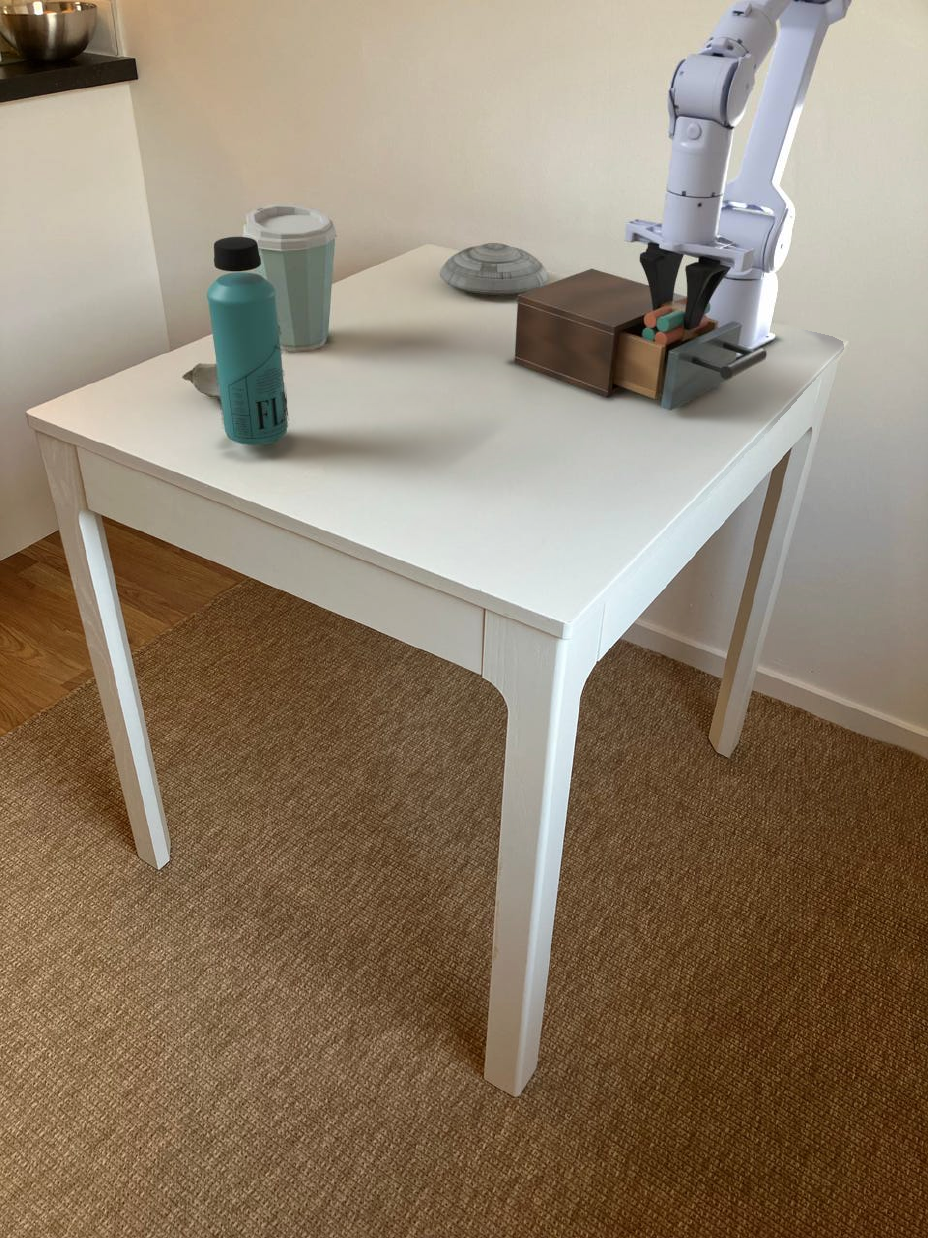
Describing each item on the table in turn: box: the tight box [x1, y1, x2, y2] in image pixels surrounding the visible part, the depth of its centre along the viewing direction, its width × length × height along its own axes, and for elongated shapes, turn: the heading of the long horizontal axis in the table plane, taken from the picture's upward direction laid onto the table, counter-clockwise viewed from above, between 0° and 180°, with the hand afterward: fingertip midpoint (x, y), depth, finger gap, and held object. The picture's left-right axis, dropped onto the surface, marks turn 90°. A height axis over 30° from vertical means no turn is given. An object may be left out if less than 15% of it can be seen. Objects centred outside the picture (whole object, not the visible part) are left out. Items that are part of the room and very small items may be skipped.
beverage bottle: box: [206, 236, 290, 446], centre depth 98 cm, size 6×7×20 cm
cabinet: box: [514, 268, 687, 399], centre depth 120 cm, size 14×14×8 cm
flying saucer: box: [439, 242, 549, 296], centre depth 143 cm, size 15×15×6 cm
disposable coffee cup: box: [242, 203, 338, 353], centre depth 122 cm, size 11×11×15 cm
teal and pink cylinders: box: [642, 296, 710, 345], centre depth 113 cm, size 8×3×3 cm, turn 137°
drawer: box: [613, 318, 768, 411], centre depth 114 cm, size 17×12×6 cm
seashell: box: [181, 362, 221, 400], centre depth 113 cm, size 8×3×8 cm
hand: (676, 322), depth 113 cm, fingers closed on teal and pink cylinders, 3 cm apart
